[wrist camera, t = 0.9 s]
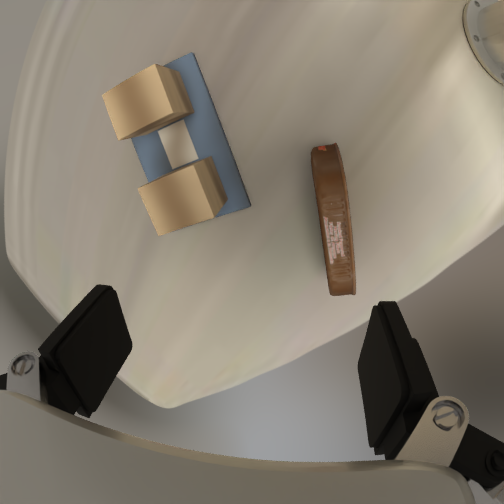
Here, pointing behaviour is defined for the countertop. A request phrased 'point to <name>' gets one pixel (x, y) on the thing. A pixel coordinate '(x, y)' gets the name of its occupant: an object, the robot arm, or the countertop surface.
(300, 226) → the countertop surface
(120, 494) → the robot arm
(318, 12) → the countertop surface
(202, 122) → the bridge base
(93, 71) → the countertop surface
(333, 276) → the tin
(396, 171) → the countertop surface
